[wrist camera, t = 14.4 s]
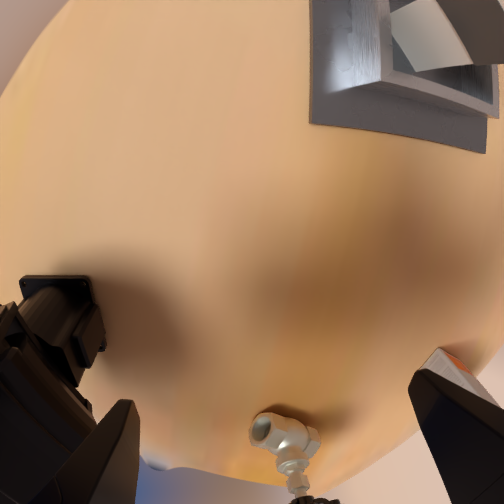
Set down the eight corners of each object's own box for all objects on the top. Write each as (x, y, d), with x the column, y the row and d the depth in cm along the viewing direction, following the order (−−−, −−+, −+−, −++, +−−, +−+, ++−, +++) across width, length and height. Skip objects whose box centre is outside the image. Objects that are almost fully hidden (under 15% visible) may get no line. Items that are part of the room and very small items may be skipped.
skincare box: (459, 357, 29) (514, 423, 18) (436, 384, 30) (485, 452, 19) (438, 345, 27) (501, 421, 16) (412, 374, 28) (466, 454, 17)
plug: (415, 73, 16) (559, 63, 5) (378, 17, 15) (508, -37, 4) (449, 51, 16) (576, 40, 5) (416, -1, 14) (535, -41, 3)
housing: (308, 123, 18) (333, 122, 14) (305, -71, 12) (322, -99, 8) (480, 153, 20) (515, 161, 16) (471, -7, 14) (500, -16, 10)
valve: (281, 393, 26) (313, 507, 15) (325, 412, 28) (363, 508, 17) (235, 428, 27) (250, 533, 16) (281, 444, 30) (304, 535, 19)
